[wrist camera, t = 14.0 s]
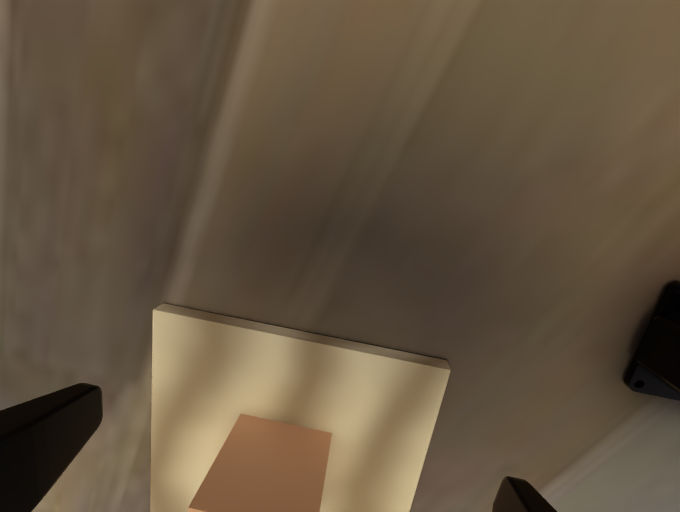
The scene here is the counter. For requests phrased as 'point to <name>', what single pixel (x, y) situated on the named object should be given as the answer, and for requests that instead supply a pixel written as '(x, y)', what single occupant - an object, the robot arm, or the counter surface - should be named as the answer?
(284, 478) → the tan cardboard-like cube
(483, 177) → the counter surface
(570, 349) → the counter surface
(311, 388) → the post base
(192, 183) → the counter surface
